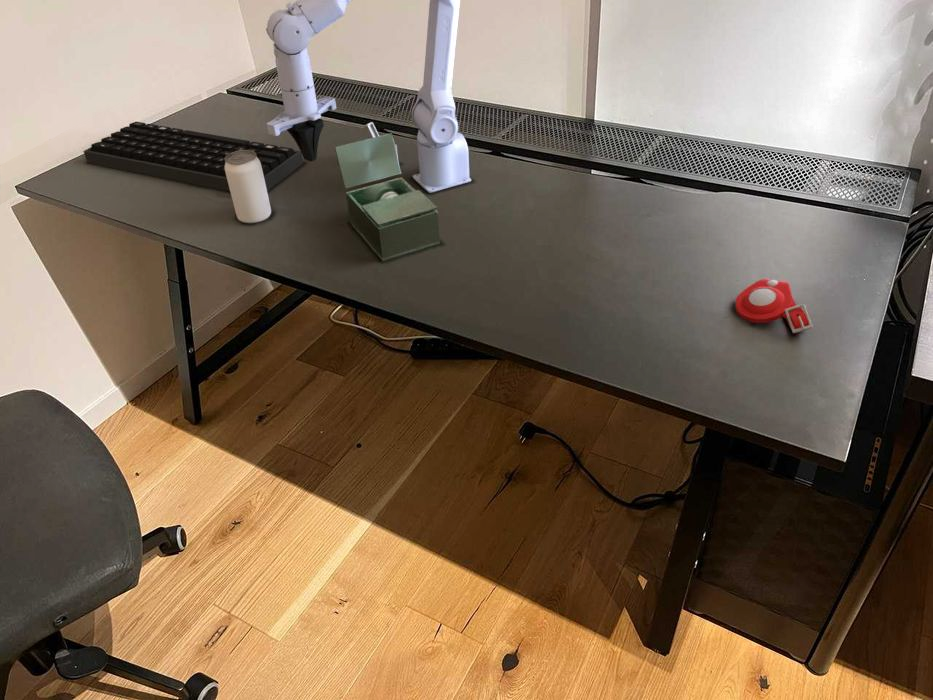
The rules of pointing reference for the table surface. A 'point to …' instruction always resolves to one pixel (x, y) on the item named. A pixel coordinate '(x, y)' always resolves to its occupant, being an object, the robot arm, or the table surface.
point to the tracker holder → (772, 305)
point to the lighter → (373, 132)
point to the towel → (389, 195)
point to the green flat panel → (368, 160)
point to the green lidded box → (393, 218)
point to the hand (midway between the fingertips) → (310, 159)
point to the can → (247, 186)
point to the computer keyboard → (186, 155)
